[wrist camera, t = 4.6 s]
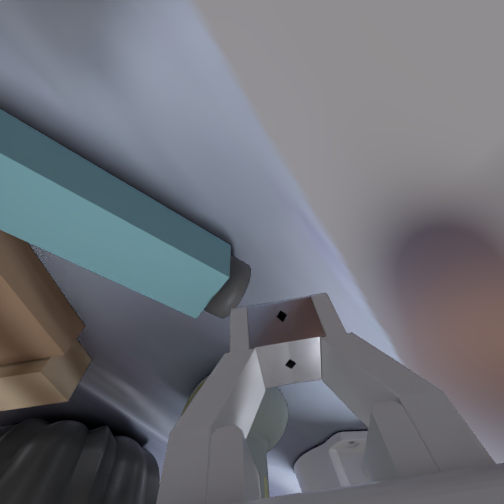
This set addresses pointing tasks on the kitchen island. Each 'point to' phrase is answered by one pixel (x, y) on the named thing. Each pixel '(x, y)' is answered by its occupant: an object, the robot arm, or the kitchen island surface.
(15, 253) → the tan box with knobs
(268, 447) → the air freshener
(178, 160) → the kitchen island surface
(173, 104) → the kitchen island surface
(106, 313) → the kitchen island surface
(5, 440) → the bundt pan
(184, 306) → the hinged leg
